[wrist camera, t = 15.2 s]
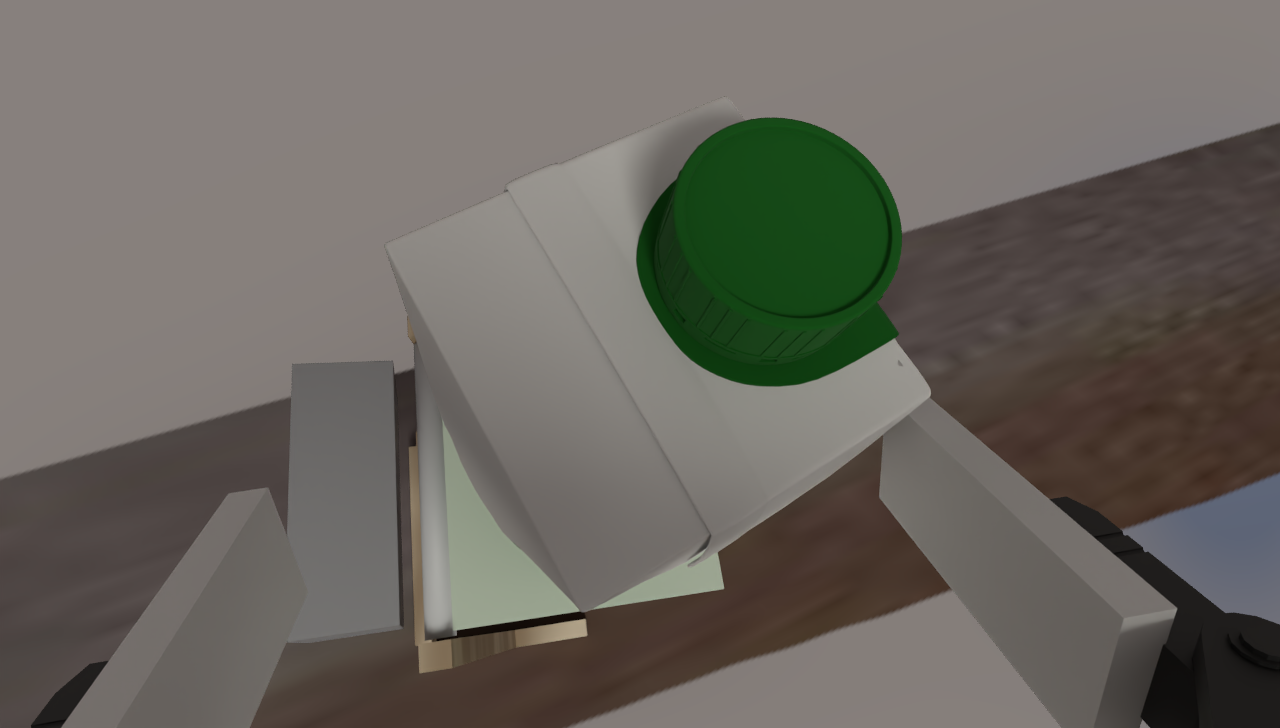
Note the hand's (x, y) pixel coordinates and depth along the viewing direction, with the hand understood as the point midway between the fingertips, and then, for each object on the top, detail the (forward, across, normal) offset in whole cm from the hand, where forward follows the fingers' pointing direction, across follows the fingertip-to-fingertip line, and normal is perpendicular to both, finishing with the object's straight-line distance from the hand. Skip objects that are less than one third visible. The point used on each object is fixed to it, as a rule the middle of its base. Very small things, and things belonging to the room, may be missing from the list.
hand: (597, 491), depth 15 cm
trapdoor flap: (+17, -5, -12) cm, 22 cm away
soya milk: (+13, 0, -8) cm, 15 cm away
